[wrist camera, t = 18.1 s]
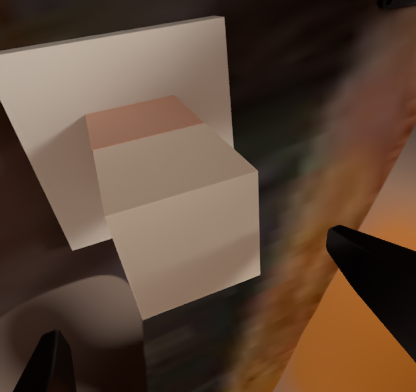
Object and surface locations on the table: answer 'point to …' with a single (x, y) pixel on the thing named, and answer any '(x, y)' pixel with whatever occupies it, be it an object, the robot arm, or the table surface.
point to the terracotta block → (138, 121)
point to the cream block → (180, 215)
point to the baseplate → (106, 102)
